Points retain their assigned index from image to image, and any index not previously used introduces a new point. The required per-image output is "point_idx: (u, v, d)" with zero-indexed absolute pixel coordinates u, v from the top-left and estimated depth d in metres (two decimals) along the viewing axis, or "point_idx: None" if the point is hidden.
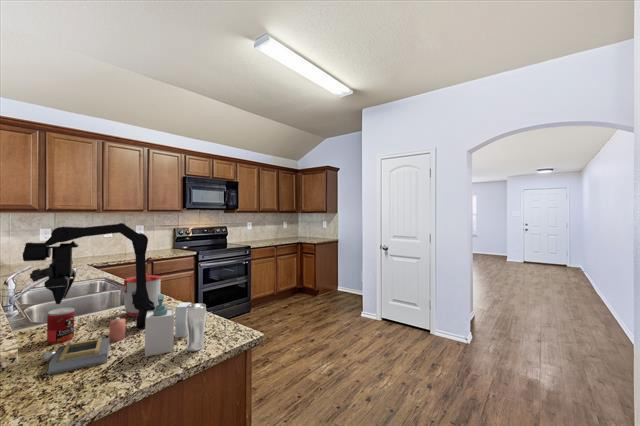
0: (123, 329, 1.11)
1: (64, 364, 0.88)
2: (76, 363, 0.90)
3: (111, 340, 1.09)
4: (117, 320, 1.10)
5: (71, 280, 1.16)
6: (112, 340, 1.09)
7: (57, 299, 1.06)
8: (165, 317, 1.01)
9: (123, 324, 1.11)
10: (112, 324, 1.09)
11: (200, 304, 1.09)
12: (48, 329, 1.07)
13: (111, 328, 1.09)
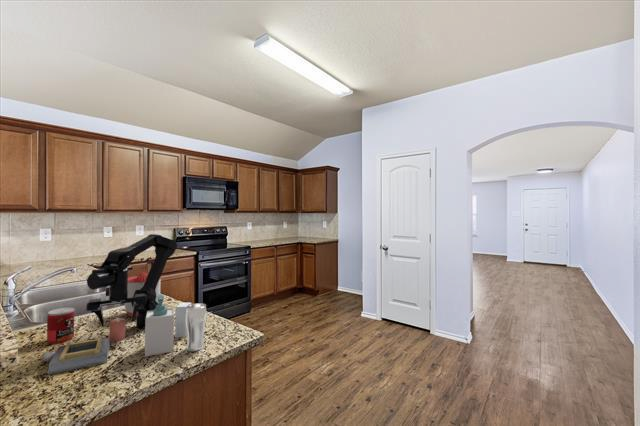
0: (123, 329, 1.11)
1: (64, 364, 0.88)
2: (76, 363, 0.90)
3: (111, 340, 1.09)
4: (117, 320, 1.10)
5: (134, 306, 1.13)
6: (112, 340, 1.09)
7: None
8: (165, 317, 1.01)
9: (123, 324, 1.11)
10: (112, 324, 1.09)
11: (200, 304, 1.09)
12: (48, 329, 1.07)
13: (111, 328, 1.09)
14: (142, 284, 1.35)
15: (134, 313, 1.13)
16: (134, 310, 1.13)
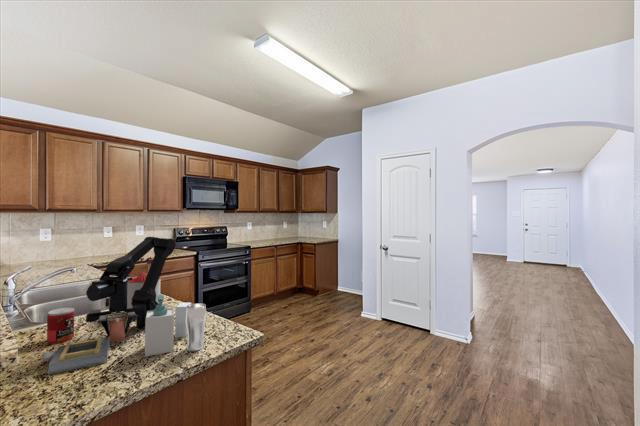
0: (123, 329, 1.11)
1: (64, 364, 0.88)
2: (76, 363, 0.90)
3: (111, 340, 1.09)
4: (117, 320, 1.10)
5: (127, 318, 1.12)
6: (112, 340, 1.09)
7: None
8: (165, 317, 1.01)
9: (123, 324, 1.11)
10: (112, 324, 1.09)
11: (200, 304, 1.09)
12: (48, 329, 1.07)
13: (111, 328, 1.09)
14: (142, 284, 1.35)
15: (128, 325, 1.12)
16: (128, 322, 1.12)
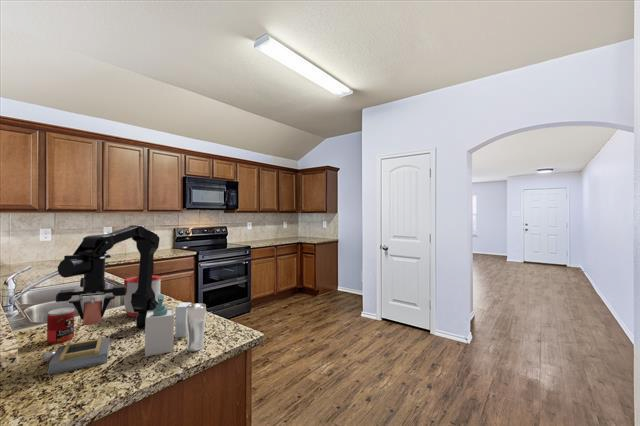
0: (99, 311, 1.00)
1: (64, 364, 0.88)
2: (76, 363, 0.90)
3: (85, 323, 0.97)
4: (92, 301, 0.98)
5: (104, 299, 1.00)
6: (86, 323, 0.97)
7: None
8: (165, 317, 1.01)
9: (99, 306, 1.00)
10: (86, 305, 0.98)
11: (200, 304, 1.09)
12: (48, 329, 1.07)
13: (85, 310, 0.98)
14: None
15: (104, 307, 1.00)
16: (104, 303, 1.00)
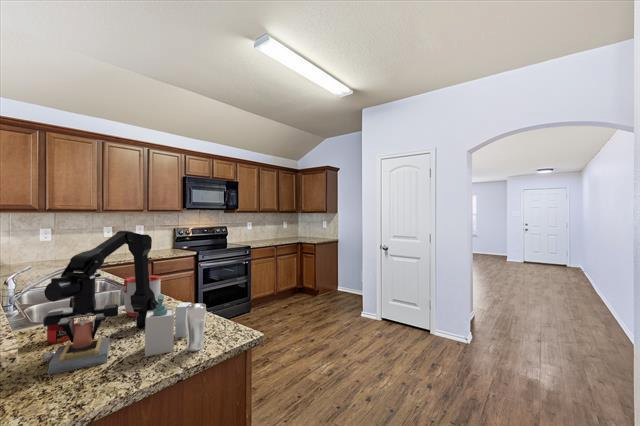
0: (90, 333, 0.96)
1: (64, 364, 0.88)
2: (76, 363, 0.90)
3: (75, 346, 0.94)
4: (82, 323, 0.94)
5: None
6: (76, 346, 0.94)
7: None
8: (165, 317, 1.01)
9: (90, 328, 0.96)
10: (76, 328, 0.94)
11: (200, 304, 1.09)
12: (48, 329, 1.07)
13: (75, 332, 0.94)
14: None
15: (95, 329, 0.96)
16: (95, 325, 0.96)
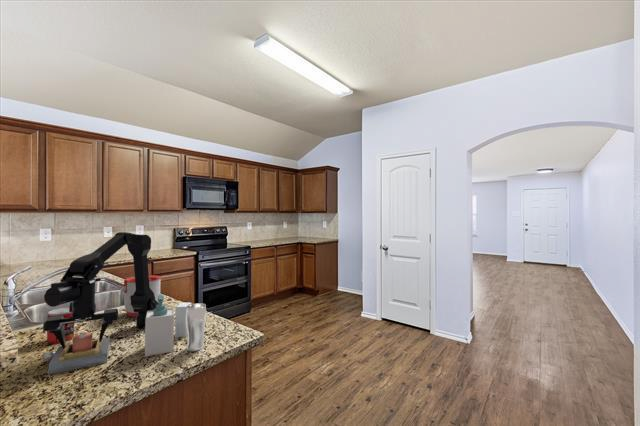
0: (89, 346, 0.96)
1: (64, 364, 0.88)
2: (76, 363, 0.90)
3: None
4: (81, 336, 0.94)
5: None
6: None
7: None
8: (165, 317, 1.01)
9: (89, 341, 0.96)
10: (75, 341, 0.94)
11: (200, 304, 1.09)
12: None
13: (74, 345, 0.94)
14: None
15: (102, 332, 0.97)
16: (102, 329, 0.97)
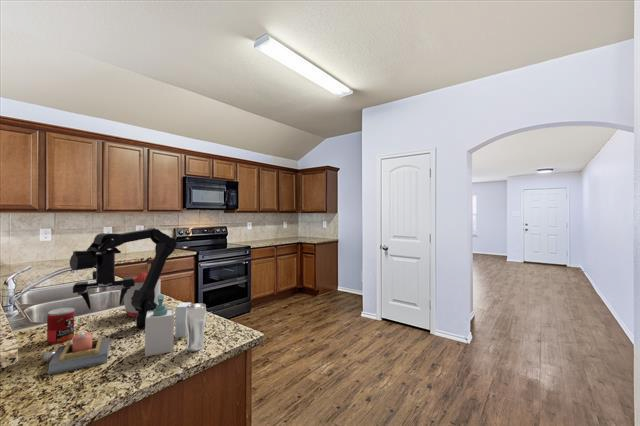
0: (89, 346, 0.96)
1: (64, 364, 0.88)
2: (76, 363, 0.90)
3: None
4: (81, 336, 0.94)
5: (121, 289, 1.12)
6: None
7: None
8: (165, 317, 1.01)
9: (89, 341, 0.96)
10: (75, 341, 0.94)
11: (200, 304, 1.09)
12: (48, 329, 1.07)
13: (74, 345, 0.94)
14: (142, 284, 1.35)
15: (122, 296, 1.13)
16: (122, 293, 1.12)
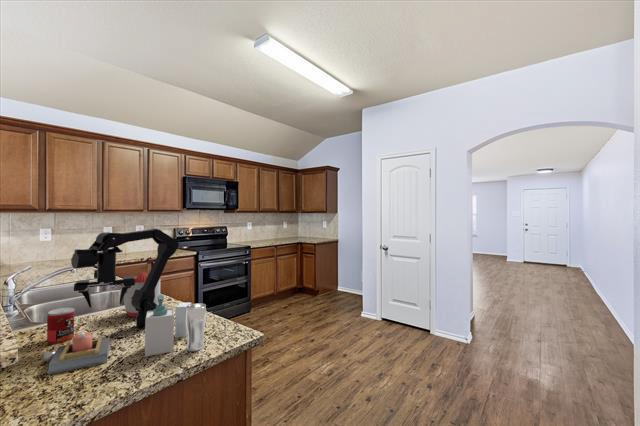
0: (89, 346, 0.96)
1: (64, 364, 0.88)
2: (76, 363, 0.90)
3: None
4: (81, 336, 0.94)
5: (122, 288, 1.13)
6: None
7: (88, 302, 1.09)
8: (165, 317, 1.01)
9: (89, 341, 0.96)
10: (75, 341, 0.94)
11: (200, 304, 1.09)
12: (48, 329, 1.07)
13: (74, 345, 0.94)
14: (142, 284, 1.35)
15: (122, 295, 1.14)
16: (122, 292, 1.13)
